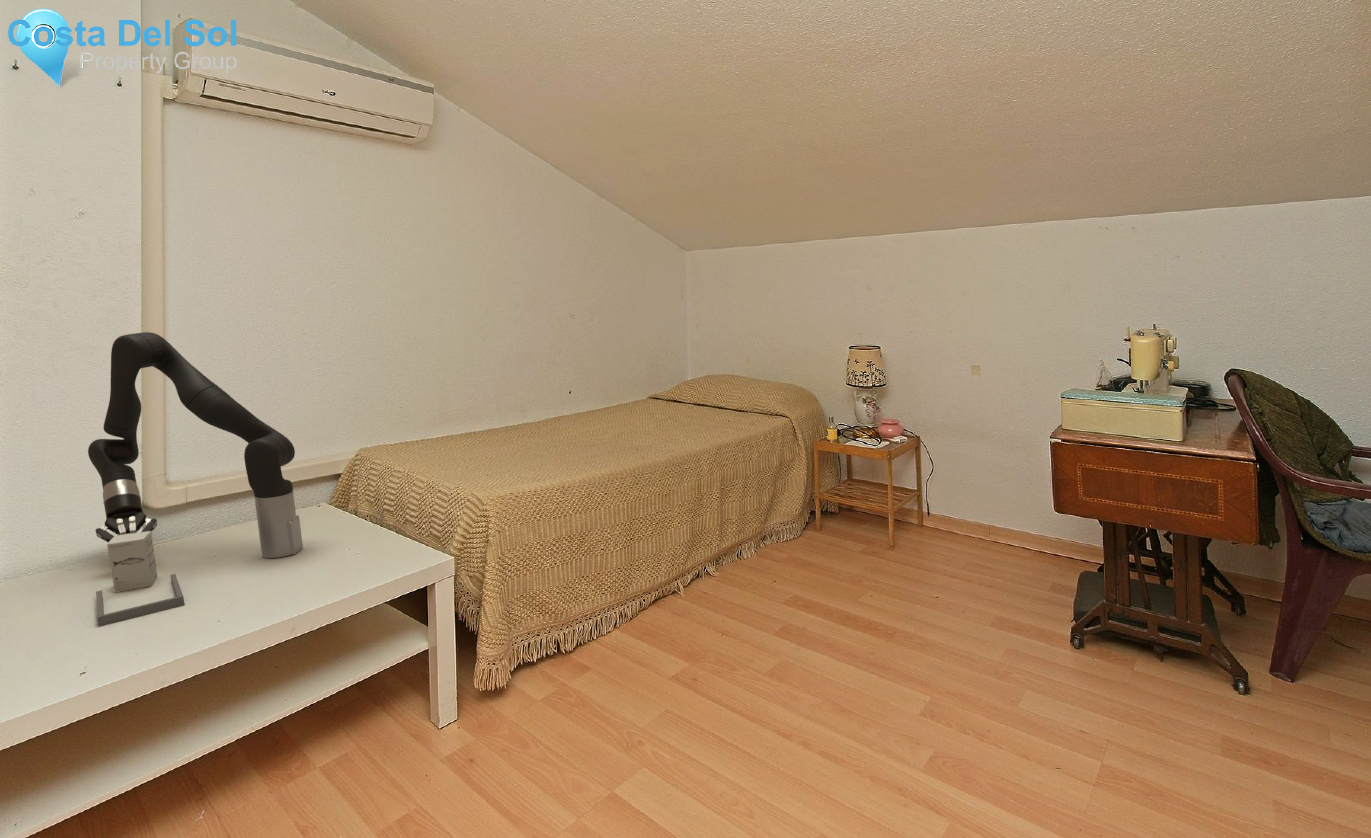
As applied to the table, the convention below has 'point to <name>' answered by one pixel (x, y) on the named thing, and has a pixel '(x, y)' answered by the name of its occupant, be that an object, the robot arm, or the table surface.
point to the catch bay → (138, 610)
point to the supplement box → (132, 561)
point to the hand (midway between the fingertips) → (132, 556)
